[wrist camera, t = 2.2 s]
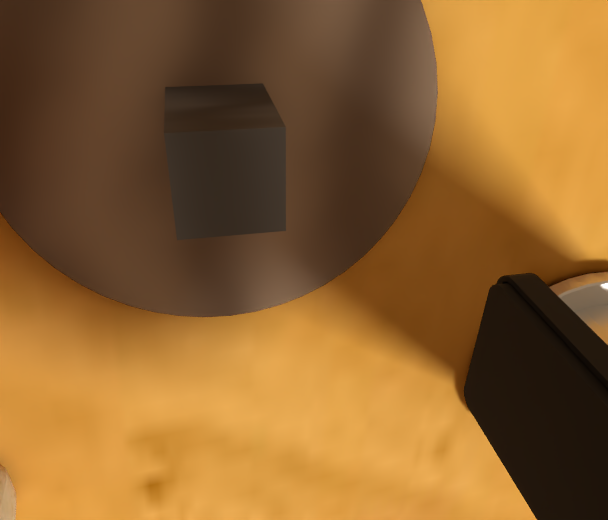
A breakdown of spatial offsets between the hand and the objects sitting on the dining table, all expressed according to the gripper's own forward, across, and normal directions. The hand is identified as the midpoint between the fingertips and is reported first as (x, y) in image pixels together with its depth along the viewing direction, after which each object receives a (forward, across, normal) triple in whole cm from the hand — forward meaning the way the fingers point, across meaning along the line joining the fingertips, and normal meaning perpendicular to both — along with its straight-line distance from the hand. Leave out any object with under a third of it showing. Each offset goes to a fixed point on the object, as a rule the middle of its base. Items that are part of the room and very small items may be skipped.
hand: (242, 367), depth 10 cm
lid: (+15, -1, 0) cm, 15 cm away
